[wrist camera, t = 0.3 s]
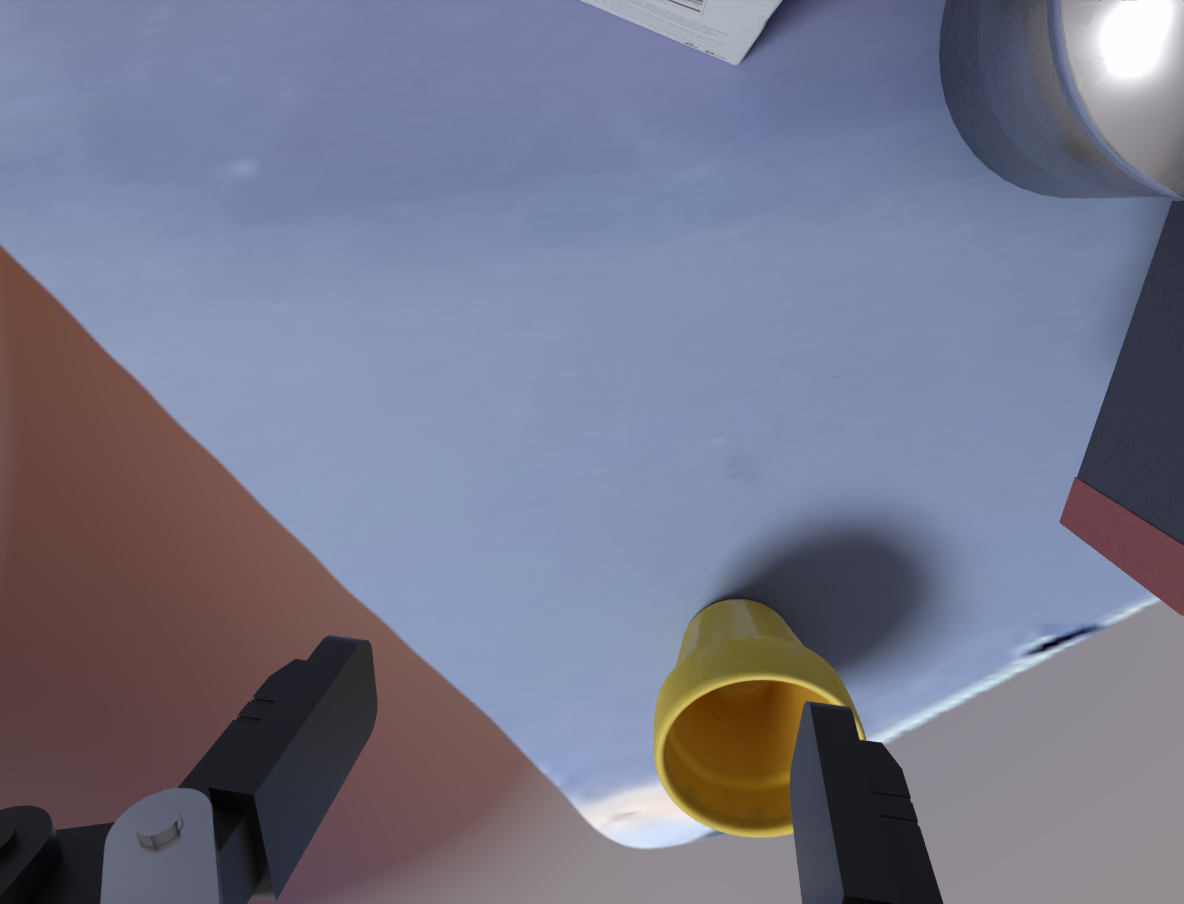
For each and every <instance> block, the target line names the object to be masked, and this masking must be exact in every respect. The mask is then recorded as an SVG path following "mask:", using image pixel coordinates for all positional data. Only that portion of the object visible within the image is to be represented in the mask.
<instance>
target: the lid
mask: <svg viewBox="0 0 1184 904" xmlns="http://www.w3.org/2000/svg"><path fill="white" fill-rule="evenodd" d="M1047 19H1048V34H1049V40H1050V46H1051V53H1052V59H1053V64H1054V67H1055V70H1056V73H1057V77H1058V80H1059V83H1060V86H1061V89H1062V92H1063V95H1064V97H1065V99H1066V101H1067V103H1068V105H1069V107H1070V109H1071V111H1072V113H1073V115H1074V117H1075V119H1076V121H1077V122H1078V123H1079V125H1080V126H1081V128H1082V129H1083V131H1084V132H1085V134H1086V135H1087V136H1088V138H1089V139H1090V141H1091V142H1092V143H1093V144H1094V145H1095V146H1096V147H1097V148H1098V149H1099V151H1100V152H1101V153H1102V154H1103V155H1104V156H1105V157H1106V158H1107V159H1108V160H1109V161H1110V162H1111V163H1112V164H1114V165H1115V166H1116V167H1118V168H1119V169H1121V170H1122V171H1123V172H1125V173H1126V174H1127V175H1129V176H1130V177H1131V178H1133V179H1134V180H1136V181H1138V182H1140V183H1142V184H1144V185H1146V186H1148V187H1150V188H1152V189H1154V190H1156V191H1158V192H1160V193H1163V194H1166V195H1169V196H1172V197H1175V198H1178V199H1181V200H1184V0H1047ZM1060 523H1061V524H1062V525H1064V526H1065V527H1066V528H1067V529H1069V530H1070V531H1071V532H1073V533H1074V534H1075V535H1077V536H1078V537H1079V538H1081V539H1082V540H1083V541H1085V542H1086V543H1087V544H1088V545H1090V546H1091V547H1092V548H1094V549H1095V550H1096V551H1098V552H1099V553H1100V554H1102V555H1103V556H1104V557H1105V558H1107V559H1108V560H1109V561H1111V562H1112V563H1113V564H1115V565H1116V566H1117V567H1119V568H1120V569H1121V570H1123V571H1124V572H1125V573H1126V574H1128V575H1129V576H1130V577H1132V578H1133V579H1134V580H1136V581H1137V582H1138V583H1140V584H1141V585H1142V586H1143V587H1145V588H1146V589H1147V590H1149V591H1150V592H1151V593H1153V594H1154V595H1155V596H1157V597H1158V598H1159V599H1161V600H1162V601H1163V602H1164V603H1166V604H1167V605H1168V606H1170V607H1171V608H1172V609H1174V610H1175V611H1177V612H1178V613H1179V614H1180V615H1183V616H1184V201H1172V204H1171V207H1170V210H1169V213H1168V216H1167V218H1166V221H1165V224H1164V227H1163V230H1162V233H1161V236H1160V239H1159V242H1158V244H1157V247H1156V250H1155V253H1154V256H1153V259H1152V262H1151V265H1150V268H1149V270H1148V273H1147V276H1146V279H1145V282H1144V285H1143V288H1142V291H1141V294H1140V297H1139V299H1138V302H1137V305H1136V308H1135V311H1134V314H1133V317H1132V320H1131V323H1130V325H1129V328H1128V331H1127V334H1126V337H1125V340H1124V343H1123V346H1122V349H1121V351H1120V354H1119V357H1118V360H1117V363H1116V366H1115V369H1114V372H1113V375H1112V378H1111V380H1110V383H1109V386H1108V389H1107V392H1106V395H1105V398H1104V401H1103V404H1102V406H1101V409H1100V412H1099V415H1098V418H1097V421H1096V424H1095V427H1094V430H1093V432H1092V435H1091V438H1090V441H1089V444H1088V447H1087V450H1086V453H1085V456H1084V459H1083V461H1082V464H1081V467H1080V470H1079V473H1078V476H1077V477H1075V478H1074V481H1073V484H1072V487H1071V490H1070V493H1069V496H1068V499H1067V501H1066V504H1065V507H1064V510H1063V513H1062V516H1061V519H1060Z"/></svg>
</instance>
